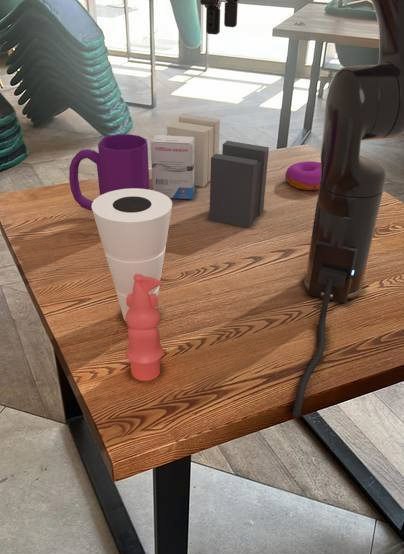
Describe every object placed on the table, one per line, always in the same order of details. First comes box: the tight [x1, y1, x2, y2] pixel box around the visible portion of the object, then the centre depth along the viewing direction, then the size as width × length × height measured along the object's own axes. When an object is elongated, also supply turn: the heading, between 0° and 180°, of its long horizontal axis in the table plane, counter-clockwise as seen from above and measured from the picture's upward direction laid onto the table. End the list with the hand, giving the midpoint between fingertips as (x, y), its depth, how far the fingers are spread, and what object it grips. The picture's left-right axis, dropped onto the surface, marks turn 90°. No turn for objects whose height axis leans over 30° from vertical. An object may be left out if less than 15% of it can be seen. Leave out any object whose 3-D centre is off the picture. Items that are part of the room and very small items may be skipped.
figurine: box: [124, 274, 164, 382], centre depth 73 cm, size 5×5×15 cm
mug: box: [68, 133, 151, 212], centre depth 109 cm, size 9×16×15 cm, turn 83°
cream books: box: [166, 113, 221, 188], centre depth 127 cm, size 8×9×12 cm
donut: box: [284, 160, 321, 191], centre depth 127 cm, size 10×10×5 cm
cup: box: [91, 188, 173, 322], centre depth 82 cm, size 11×11×18 cm
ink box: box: [150, 134, 195, 200], centre depth 119 cm, size 8×5×12 cm, turn 84°
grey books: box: [208, 140, 270, 229], centre depth 111 cm, size 8×9×13 cm
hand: (221, 30), depth 101 cm, fingers open, 8 cm apart
